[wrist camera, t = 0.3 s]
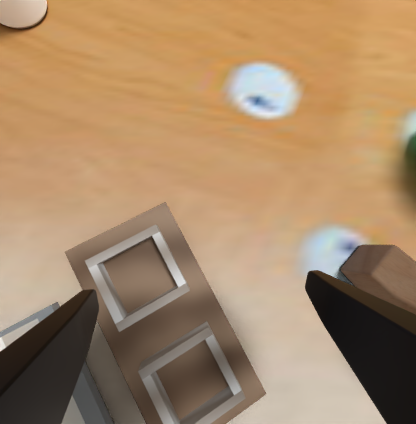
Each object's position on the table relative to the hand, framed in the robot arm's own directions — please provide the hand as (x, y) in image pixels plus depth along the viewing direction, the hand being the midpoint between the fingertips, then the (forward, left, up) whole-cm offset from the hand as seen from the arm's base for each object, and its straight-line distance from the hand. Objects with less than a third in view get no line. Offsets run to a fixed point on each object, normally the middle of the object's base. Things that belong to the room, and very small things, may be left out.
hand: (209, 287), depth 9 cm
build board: (-4, +5, -15) cm, 16 cm away
